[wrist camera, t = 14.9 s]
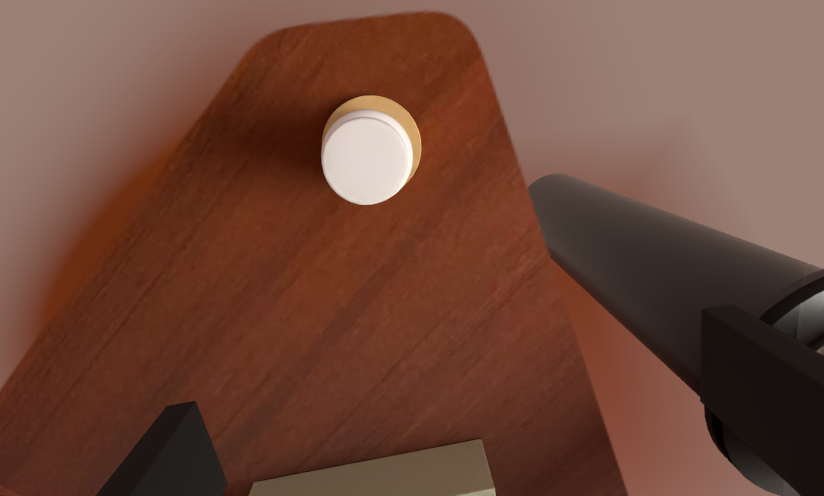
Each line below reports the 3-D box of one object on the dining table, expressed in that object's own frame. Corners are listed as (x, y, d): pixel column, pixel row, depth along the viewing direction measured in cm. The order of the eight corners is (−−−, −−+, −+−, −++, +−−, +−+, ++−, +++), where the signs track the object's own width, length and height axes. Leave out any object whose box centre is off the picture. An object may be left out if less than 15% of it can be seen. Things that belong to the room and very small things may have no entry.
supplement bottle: (395, 194, 29) (396, 227, 21) (326, 172, 28) (300, 197, 20) (418, 123, 28) (430, 129, 20) (346, 98, 27) (328, 93, 19)
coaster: (410, 86, 27) (411, 85, 27) (428, 185, 29) (429, 186, 29) (311, 106, 28) (310, 106, 27) (336, 203, 30) (335, 205, 29)
